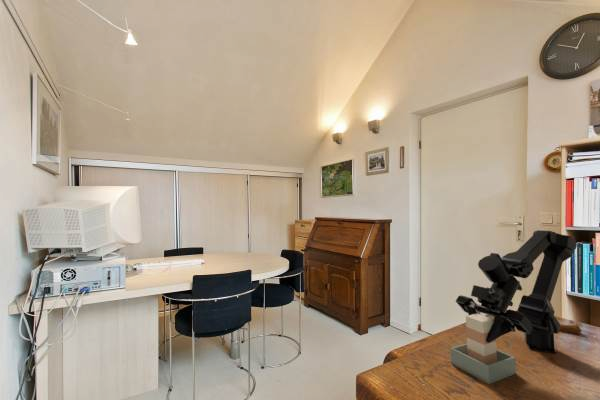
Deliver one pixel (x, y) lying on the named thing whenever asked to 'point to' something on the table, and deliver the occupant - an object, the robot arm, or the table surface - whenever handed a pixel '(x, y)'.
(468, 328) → the tile stack
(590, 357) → the table surface
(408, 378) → the table surface
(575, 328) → the primitive tool
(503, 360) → the box
